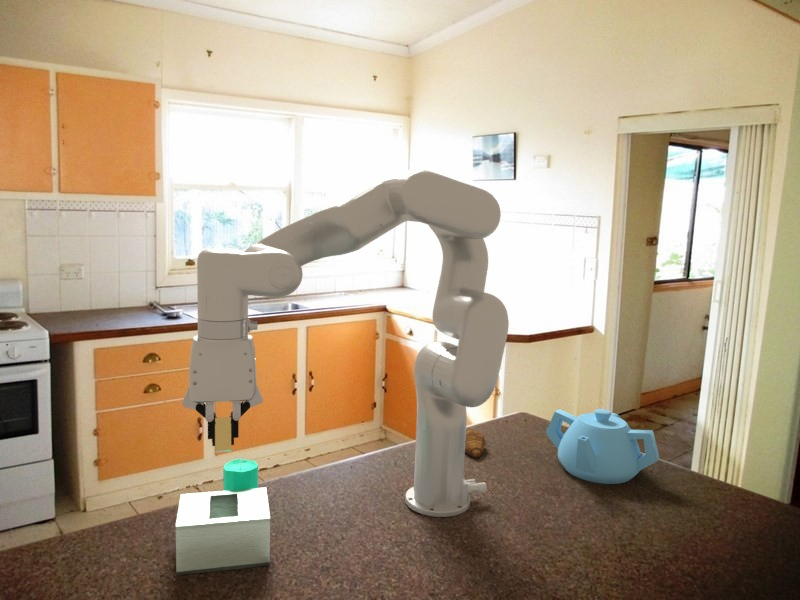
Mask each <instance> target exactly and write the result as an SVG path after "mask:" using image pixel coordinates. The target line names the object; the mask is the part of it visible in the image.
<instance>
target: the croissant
mask: <svg viewBox="0 0 800 600" xmlns="http://www.w3.org/2000/svg"><path fill="white" fill-rule="evenodd" d="M486 443H487V440H486V439H485V436H484V434H483V433H482V432H480V431H477V430H474V429H470V430H466V439H465V453H466V455H467V456H469V457H470V458H473V459H475V460H476V459H480V457H481V456H482V454H483V452H484V450H485V446H486Z"/></svg>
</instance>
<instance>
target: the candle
mask: <svg viewBox="0 0 800 600" xmlns="http://www.w3.org/2000/svg"><path fill="white" fill-rule="evenodd" d="M222 469H223V491H227V490H239V489H252V488H259V465H258V463H257V462H256V460H248V459H244V458H242V456H240V458H236V459H232V460H230V461H228V462H226V463H225V464H224V466H223V468H222Z"/></svg>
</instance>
